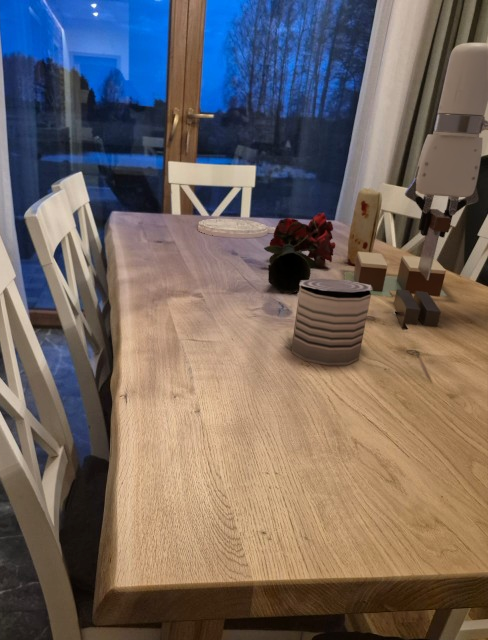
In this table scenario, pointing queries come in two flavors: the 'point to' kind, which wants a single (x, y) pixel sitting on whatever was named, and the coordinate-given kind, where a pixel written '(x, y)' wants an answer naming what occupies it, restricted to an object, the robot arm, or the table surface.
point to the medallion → (234, 228)
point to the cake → (420, 276)
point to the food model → (364, 223)
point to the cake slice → (370, 270)
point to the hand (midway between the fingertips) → (432, 234)
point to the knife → (432, 240)
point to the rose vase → (298, 251)
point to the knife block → (416, 308)
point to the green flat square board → (389, 285)
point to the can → (330, 321)
